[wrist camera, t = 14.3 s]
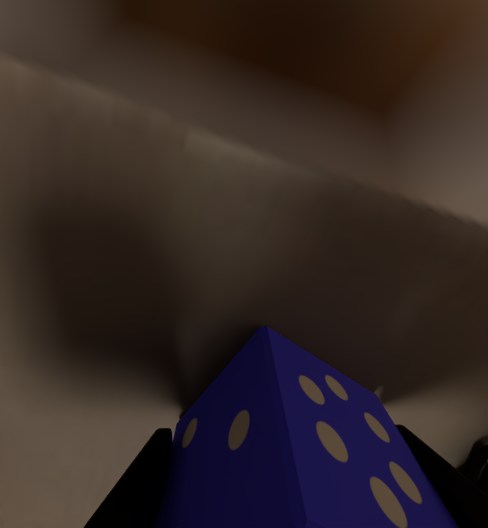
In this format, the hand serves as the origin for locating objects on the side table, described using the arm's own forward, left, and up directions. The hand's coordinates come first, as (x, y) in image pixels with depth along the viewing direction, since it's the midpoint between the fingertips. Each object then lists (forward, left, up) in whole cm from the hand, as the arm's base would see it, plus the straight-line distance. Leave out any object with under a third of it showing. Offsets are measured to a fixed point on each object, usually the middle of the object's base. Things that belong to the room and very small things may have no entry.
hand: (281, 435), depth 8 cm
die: (0, 0, -1) cm, 1 cm away
